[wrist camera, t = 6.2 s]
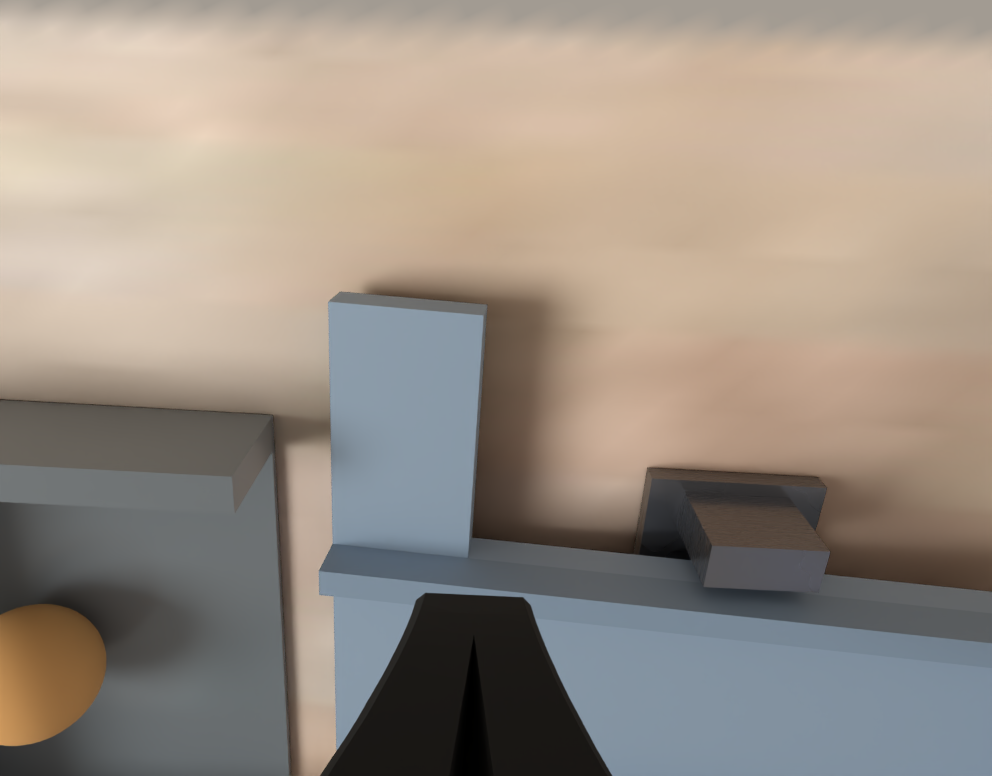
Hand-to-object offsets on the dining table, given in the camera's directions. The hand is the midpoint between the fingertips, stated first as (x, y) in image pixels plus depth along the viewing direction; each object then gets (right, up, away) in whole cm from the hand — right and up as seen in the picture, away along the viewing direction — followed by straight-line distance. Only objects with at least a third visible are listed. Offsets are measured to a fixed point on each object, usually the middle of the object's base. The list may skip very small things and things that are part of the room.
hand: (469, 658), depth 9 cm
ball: (-10, -3, +7) cm, 13 cm away
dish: (-9, -2, +9) cm, 13 cm away
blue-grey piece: (+6, -1, +8) cm, 10 cm away
